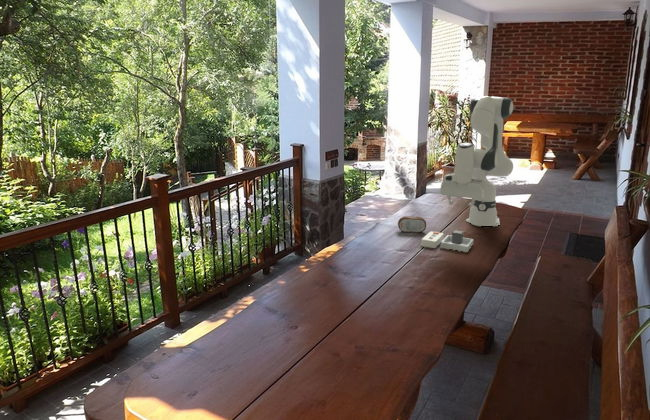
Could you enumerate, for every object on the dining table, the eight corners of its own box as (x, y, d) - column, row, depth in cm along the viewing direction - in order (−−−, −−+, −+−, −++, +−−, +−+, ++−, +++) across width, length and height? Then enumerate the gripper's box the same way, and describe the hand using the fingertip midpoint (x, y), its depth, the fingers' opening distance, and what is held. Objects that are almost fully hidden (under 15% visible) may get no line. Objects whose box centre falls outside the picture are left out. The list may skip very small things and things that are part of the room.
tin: (425, 231, 265) (426, 216, 263) (426, 233, 262) (427, 218, 260) (397, 230, 266) (398, 215, 264) (397, 232, 263) (398, 217, 261)
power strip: (433, 234, 260) (433, 227, 259) (446, 236, 257) (447, 229, 256) (421, 245, 242) (421, 238, 241) (435, 248, 239) (435, 240, 238)
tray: (447, 240, 251) (447, 235, 250) (473, 244, 245) (473, 239, 244) (440, 247, 240) (440, 242, 239) (467, 252, 234) (467, 246, 233)
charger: (453, 243, 245) (454, 230, 243) (462, 244, 243) (463, 231, 241) (451, 245, 241) (452, 232, 240) (460, 247, 239) (461, 233, 238)
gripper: (486, 178, 231) (483, 206, 235) (443, 174, 241) (441, 201, 244) (484, 181, 226) (481, 210, 230) (440, 176, 235) (438, 204, 239)
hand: (460, 205), depth 237 cm, fingers open, 8 cm apart
